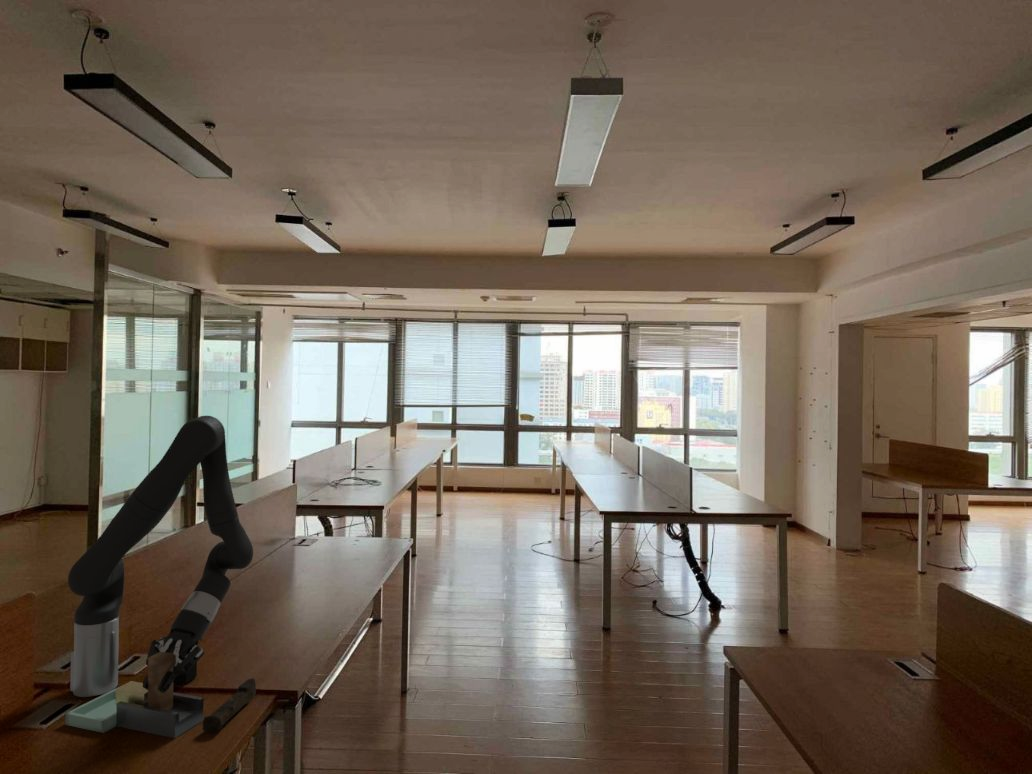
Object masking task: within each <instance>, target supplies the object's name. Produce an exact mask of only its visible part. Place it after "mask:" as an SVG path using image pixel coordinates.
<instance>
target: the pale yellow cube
mask: <svg viewBox="0 0 1032 774" xmlns="http://www.w3.org/2000/svg"><path fill="white" fill-rule="evenodd" d="M147 699H148V690H146V689H145V688H143V685H141V686H139V687H137V688H135V689H133V690H131V691H130V703H132V704H138V705H142V702H143V701H145V700H147Z"/></svg>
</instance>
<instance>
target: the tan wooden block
mask: <svg viewBox="0 0 1032 774" xmlns="http://www.w3.org/2000/svg"><path fill="white" fill-rule="evenodd" d="M173 657H174V653H168V652H159V653H157V654H155V655H153V656H151V657H149V658H148V665H147V671H148V672H147V675H148V699H147V700H145V701H143V702H142V705H143V706H148V707H153V708H158V709H164V710H169V709H171V708H173V692H174V684H173V682H172V684H171V686H170V688H169V689H168V690H166V692H165V693H162V692H160V691H159V690H157V688H158V686H159V684H160V682H161V681H162V679H163V678H164V676H165V674H166V672H169V671H168V670H169V667H170V665H171V663H172V658H173Z"/></svg>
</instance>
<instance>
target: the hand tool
mask: <svg viewBox="0 0 1032 774" xmlns="http://www.w3.org/2000/svg"><path fill="white" fill-rule="evenodd" d="M256 684H257V683H256V680H255V678H250V679H249V678H248V679H247V680H246V681H244V682H243V683H241V684H240V685H239V686H238V688H237V691H236V693H234V694H233V695H232V696H231V697H230V698H228V699H227V701H225V702H224V703H223V704H221V705H220V706H219V707H218V708H217V709H216V710H214V711H213V712H212V713H211V714H210V715H207V716H204V717H203V721H202V729H203V731H204V733H206V734H217V733H219V732H220V731H221V730H222V729H223V727H224V726H225V724H226V723H227V722H228V721H229V720H230V719H232V717H233V716H235V715H236V714H237V712H239V711H240V710H241V709H242V708H243V707H244V706H247V705H249V704H250V703H251V702H252V701H253V699H254V698H255V695H256V691H257V690H256V689H257V685H256Z"/></svg>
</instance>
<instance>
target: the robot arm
mask: <svg viewBox="0 0 1032 774" xmlns="http://www.w3.org/2000/svg"><path fill="white" fill-rule="evenodd" d="M199 464H200V468H201V474H202V482H203V483H202V484H203V487H202V491H203V493H202V494H203V505H204V511H205V514H206V520H207V523H208V527H209V531H210V532H211V534H212V535H213V536H216V537H219V538H221V540H222V541H220V542H218V543H217V544H216V545H214V546H213V548H212V549H211V550H210V552H209V554H208V556H207V558H206V561H205V564H204V569H203V572H202V576H201V578H200V579H199V581H198V582H197V584H196V586H195V588H194V589H193V591H192V593H191V594H190V596H189V597H187V600H185V602H184V604H183V606H182V608H181V609H180V610H179V613H178V614H177V615H176V618H174V621H173V622H172V624H171V626H170V632H169V634H167V635H166V636H164V637H165V639H164V640H161V641H157V639H153V640H152V641H151V643H150V647H149V650H148V653H147V657H146V661H145V664H146V666H148V658H149V657H151V656H153V655H155V654H157V653H159V652H168V653H174V657H173V658H172V663H171V665H170V667H169V670H168V671H169V672H166V674H165V676H164V678H163V679H162V681H161V682H160V684H159V686H158V688H157V690H159V691H160V692H162V693H165V692H166V690H168V689H169V688H170V686H171V684H172V682H173V680H174V679H175V677H176V676H178V675H179V674H183V675H184V674H186V673H187V672H188V671H189V670H190V669H191V668H192V667H193V666H194V665H195V663H196V662H197V663H198V661H199V660H200V659H201V658H202V657H203V656H204V655H205V651H204V649H203V648H202V647H200V646H198V645H199V642H200V641H202V640H203V638H204V636H205V634H206V633H207V631H208V629H209V628H210V625H211V624H212V622H213V621H214V618H215V617H216V615H217V613H218V610H219V608H220V606H221V603H222V602H223V601H224V599H225V597H226V595H227V594H228V591H229V589H230V587H231V581H230V579H229V578H228V576H226V574H227V571H228V570H243V569H245V568H247V567H248V566H249V565H250V564H251V562H253V561H252V560H253V557H254V548H253V547H254V546H253V545H252V542H251V540H250V538H249V536H248V534H247V532H246V531H245V528H244V527H243V526H242V523H241V522H240V518H239V515H238V511H237V509H238V508H237V506H236V501H235V497H234V494H233V488H232V484H231V479H230V474H229V468H228V458H227V444H226V429H225V427H224V425H223V423H222V422H221V421H220V420H219V419H218V418H217V417H214V416H211V415H201V416H198V417H195V418H193V419H190V420H189V421H187V422H185V423H184V424H183V425H182V426H181V427H180V429H179V430H178V432H177V434H176V435H175V438H174V439H173V440H172V442H171V444H170V445H169V447H168V448H167V450H166V451H165V453H164V455H163V457H162V458H161V459H160V461H159V462H158V463H157V464H156V465H155V466H154V467H153V468H152V469H151V470H150V472H148V474H146V476H145V477H144V479H142V481H141V482H140V483H139V484H138V485H137V486H136V488H135V489H133V491H132V493H131V494H130V495H129V496H128V498H127V499H126V500H125V502H124V503H123V504H122V506H121V507H120V509H119V510H118V511H117V512H116V515H114V517H113V518H112V519H111V521H110V522H109V524H108V525H107V526H106V528H105V529H104V530H103V532H102V533H101V534H100V536H99V537H98V539H97V540H96V541H95V542H94V543H93V544H92V545H91V546H90V547H88V550H86V551H85V552H84V554H82V556H80V558H78V560H76V562H74V564H73V565H72V567H71V568H70V570H69V572H68V577H67V584H68V588H69V589H70V590H71V592H72V593H73V594H75V595H77V596H80V597H83V598H82V601H81V602H80V604H79V605H78V607H77V608H76V610H75V611H74V628H73V629H74V630H73V631H74V632H73V635H74V636H73V637H74V639H73V651H71V653H70V687H69V689H70V692H72V693H73V696H75V697H80V698H89V697H95V696H99V695H100V696H102V695H104V694H106V693H108V692H110V691H112V690H114V689H116V688H118V685H119V637H120V636H119V632H120V630H119V629H120V626H119V625H120V623H119V622H120V621H119V620H120V609H121V606H122V603H123V601H124V588H125V566H124V565H125V564H124V562H123V560H122V559H123V558H124V557H125V556H126V555H127V553H128V552H129V551H130V550H132V548H133V547H135V546H136V545H137V544H138V543H140V542H141V541H142V540H143V539H144V538H145V537H147V536H148V534H149V533H151V532H152V531H153V530H154V529H155V528H156V527H157V526H158V524H159V523H160V522H161V521H162V520H163V519H164V517H165V516H166V514H168V512H169V511H170V509H171V508H172V507H173V505H174V504H175V503H176V501H177V498H178V497H179V495H180V493H181V491H182V488H183V487H184V483H185V482H186V480H187V479H188V477H189V476H190V475H191V473H192V472H193V471H194V470H195V468H197V466H198V465H199ZM187 663H188V664H187ZM186 664H187V665H186ZM185 665H186V666H185ZM142 683H143V688H145V689H146V690H148V674H147V675H146V677H145V678H144V679H143V682H142Z"/></svg>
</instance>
